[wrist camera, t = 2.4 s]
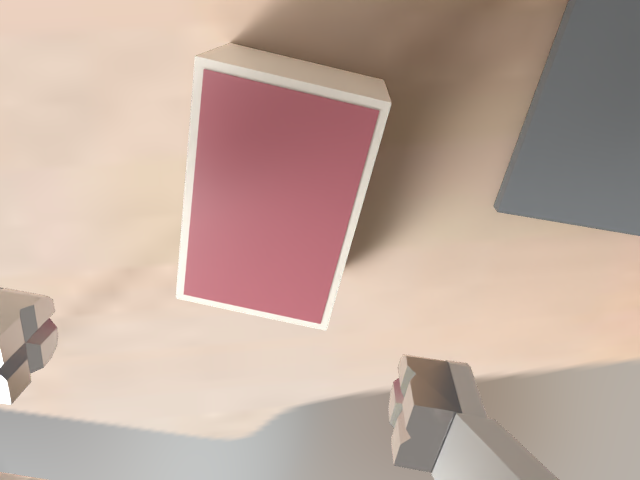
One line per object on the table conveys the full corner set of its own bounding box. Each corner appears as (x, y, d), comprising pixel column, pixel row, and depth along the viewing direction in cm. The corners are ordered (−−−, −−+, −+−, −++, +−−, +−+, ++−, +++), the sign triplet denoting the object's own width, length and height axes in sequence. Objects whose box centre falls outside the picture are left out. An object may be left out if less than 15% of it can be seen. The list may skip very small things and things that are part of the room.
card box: (231, 42, 17) (194, 56, 13) (383, 78, 18) (392, 103, 14) (208, 243, 22) (175, 298, 18) (331, 270, 22) (326, 331, 18)
